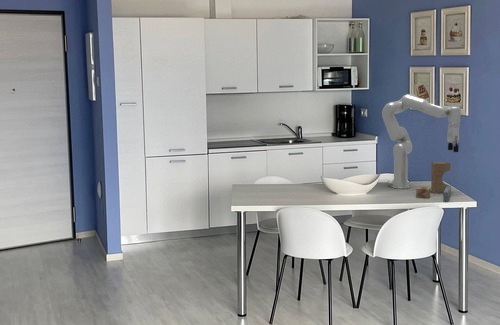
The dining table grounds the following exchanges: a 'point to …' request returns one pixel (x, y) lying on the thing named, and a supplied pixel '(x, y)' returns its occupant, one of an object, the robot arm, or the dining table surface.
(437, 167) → the decorative block
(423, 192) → the walnut block
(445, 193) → the charcoal board
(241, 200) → the dining table surface
